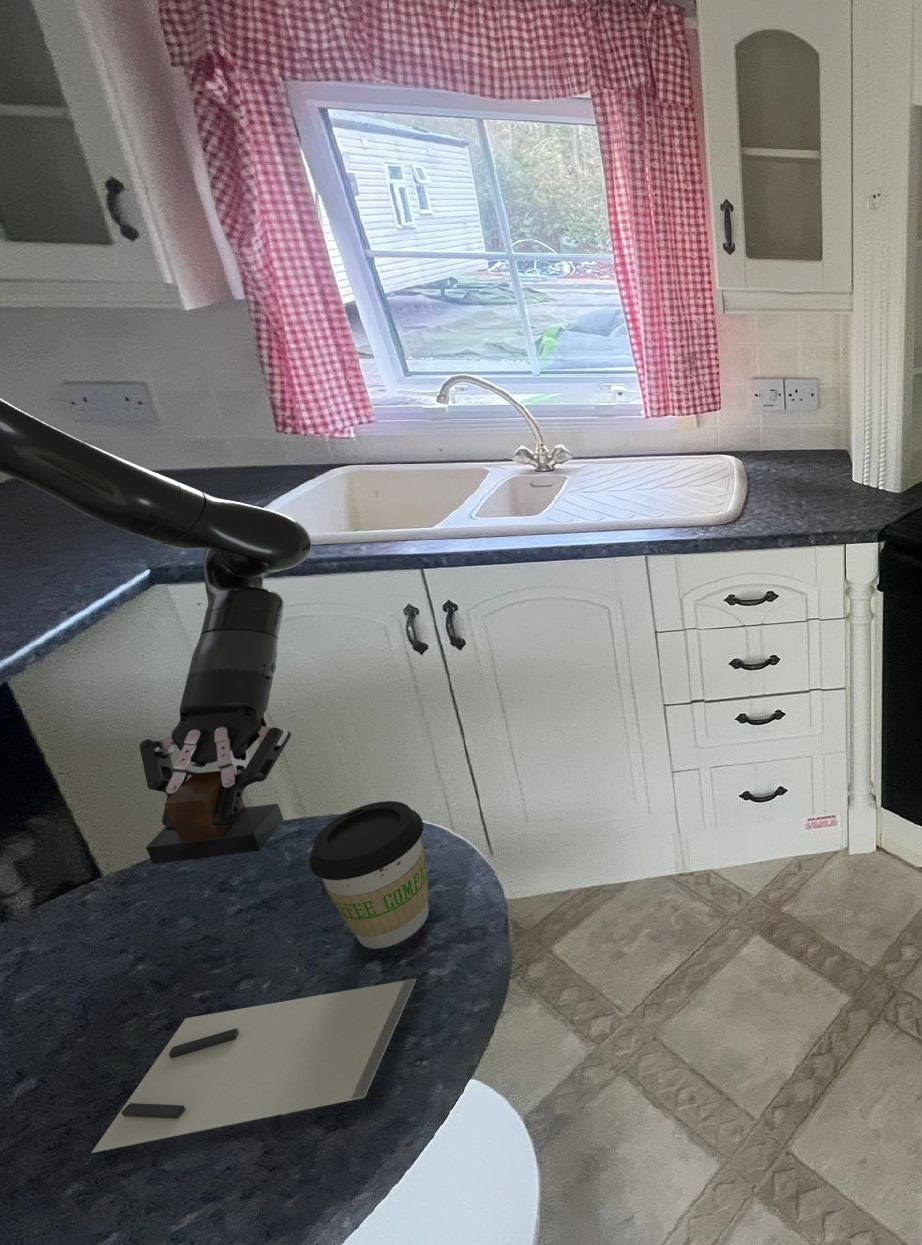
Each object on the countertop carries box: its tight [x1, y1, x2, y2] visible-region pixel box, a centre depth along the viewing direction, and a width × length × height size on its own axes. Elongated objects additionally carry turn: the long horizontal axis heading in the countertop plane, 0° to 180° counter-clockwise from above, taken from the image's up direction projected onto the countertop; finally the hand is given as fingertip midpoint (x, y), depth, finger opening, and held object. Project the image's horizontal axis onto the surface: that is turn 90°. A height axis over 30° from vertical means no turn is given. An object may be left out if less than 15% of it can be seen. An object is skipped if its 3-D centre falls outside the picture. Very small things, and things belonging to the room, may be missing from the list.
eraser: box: [145, 770, 284, 865], centre depth 87 cm, size 10×5×8 cm, turn 104°
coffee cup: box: [309, 800, 430, 950], centre depth 84 cm, size 10×10×15 cm
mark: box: [169, 1028, 239, 1058], centre depth 73 cm, size 5×1×1 cm, turn 114°
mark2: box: [121, 1103, 185, 1119], centre depth 67 cm, size 5×1×1 cm, turn 89°
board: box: [90, 978, 417, 1154], centre depth 73 cm, size 20×12×2 cm, turn 104°
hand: (199, 826), depth 85 cm, fingers closed on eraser, 3 cm apart
